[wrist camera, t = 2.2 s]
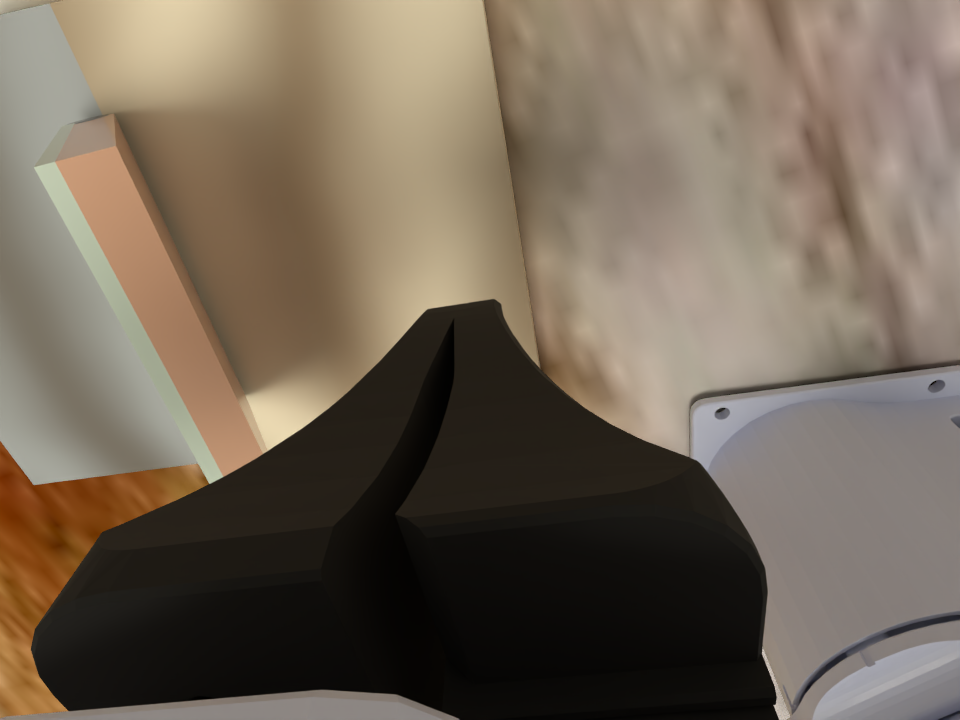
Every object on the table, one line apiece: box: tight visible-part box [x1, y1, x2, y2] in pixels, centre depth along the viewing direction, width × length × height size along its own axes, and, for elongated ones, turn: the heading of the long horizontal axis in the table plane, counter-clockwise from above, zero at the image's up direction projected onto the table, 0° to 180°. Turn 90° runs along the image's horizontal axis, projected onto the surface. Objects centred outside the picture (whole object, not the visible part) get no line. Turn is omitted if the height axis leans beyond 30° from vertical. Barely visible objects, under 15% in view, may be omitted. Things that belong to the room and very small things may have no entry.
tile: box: [34, 114, 268, 484], centre depth 15 cm, size 8×9×1 cm
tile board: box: [0, 0, 540, 485], centre depth 19 cm, size 19×14×2 cm
